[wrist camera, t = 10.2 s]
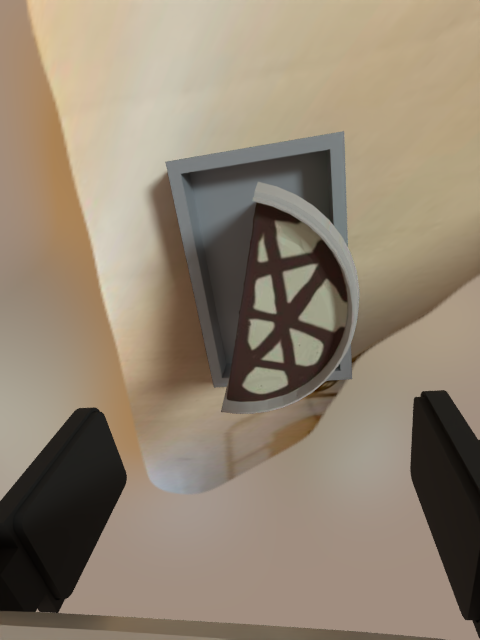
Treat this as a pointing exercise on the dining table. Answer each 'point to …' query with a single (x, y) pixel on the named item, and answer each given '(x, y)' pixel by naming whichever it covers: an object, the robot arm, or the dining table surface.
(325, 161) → the tray
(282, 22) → the dining table surface
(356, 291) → the food container
